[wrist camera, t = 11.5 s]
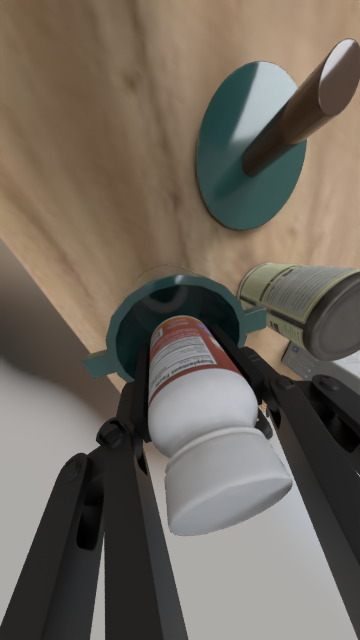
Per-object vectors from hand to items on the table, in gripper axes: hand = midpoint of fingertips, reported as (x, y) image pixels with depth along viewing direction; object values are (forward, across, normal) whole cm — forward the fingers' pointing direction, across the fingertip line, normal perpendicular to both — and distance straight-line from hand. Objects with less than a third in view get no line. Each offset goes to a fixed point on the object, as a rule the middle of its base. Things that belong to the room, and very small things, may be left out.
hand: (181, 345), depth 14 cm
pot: (+12, 0, 0) cm, 12 cm away
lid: (+12, +15, +16) cm, 25 cm away
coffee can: (+12, +18, -2) cm, 22 cm away
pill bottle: (+1, 0, 0) cm, 1 cm away
